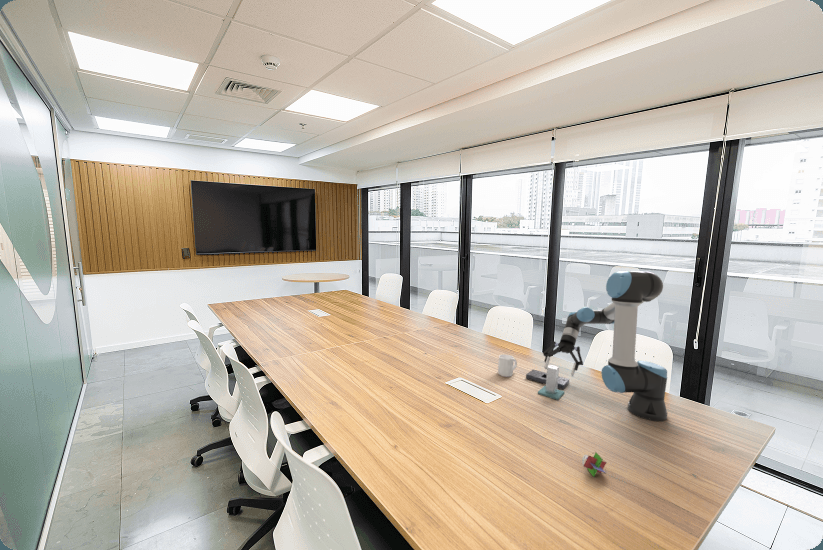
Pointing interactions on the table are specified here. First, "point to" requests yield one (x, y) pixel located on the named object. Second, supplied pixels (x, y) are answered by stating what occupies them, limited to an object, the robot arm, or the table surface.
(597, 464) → the geometric puzzle
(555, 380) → the steel peg
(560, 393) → the teal mat
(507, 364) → the mug
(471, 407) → the table surface
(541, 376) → the block
